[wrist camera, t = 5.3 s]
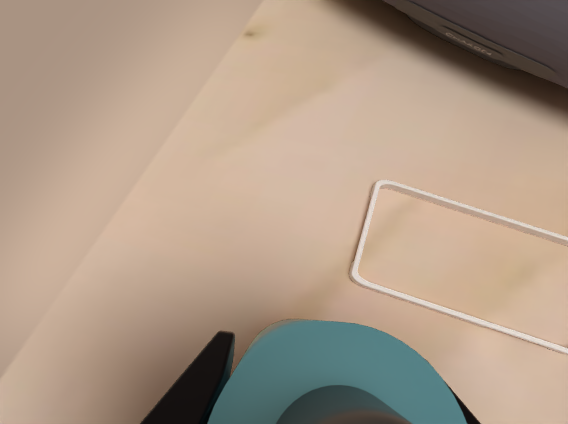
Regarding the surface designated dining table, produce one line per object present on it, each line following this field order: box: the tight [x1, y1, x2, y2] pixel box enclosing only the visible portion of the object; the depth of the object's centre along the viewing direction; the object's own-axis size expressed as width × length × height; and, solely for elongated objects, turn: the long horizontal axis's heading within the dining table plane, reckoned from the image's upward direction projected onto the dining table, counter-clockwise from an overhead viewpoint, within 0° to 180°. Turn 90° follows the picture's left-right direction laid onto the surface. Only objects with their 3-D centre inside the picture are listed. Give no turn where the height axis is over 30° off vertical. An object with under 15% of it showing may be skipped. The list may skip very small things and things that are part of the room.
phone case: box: [349, 180, 568, 354], centre depth 24 cm, size 7×1×15 cm
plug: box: [207, 319, 467, 424], centre depth 9 cm, size 4×4×13 cm
